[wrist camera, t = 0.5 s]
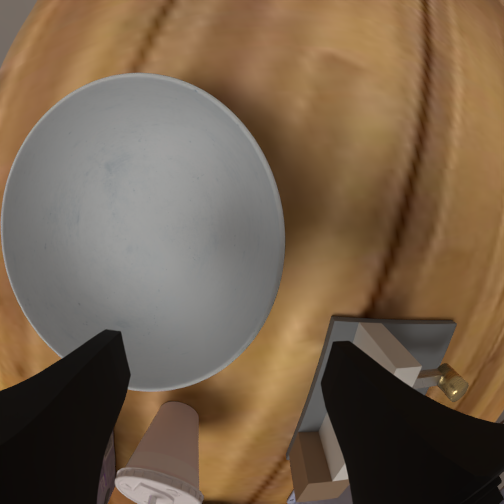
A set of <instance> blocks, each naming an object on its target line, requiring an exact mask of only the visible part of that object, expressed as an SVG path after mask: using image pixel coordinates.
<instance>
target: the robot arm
mask: <svg viewBox="0 0 504 504" xmlns="http://www.w3.org/2000/svg"><path fill="white" fill-rule="evenodd" d="M130 377H131V373H130V369H129V365H128V361H127V356H126V352H125V348H124V343H123V338H122V333H121V331H115V330H109V329H105V330H103V331H102V332H100V333H98V334H97V335H95V336H94V337H93V338H91V339H90V340H88V341H87V342H85V343H84V344H82V345H81V346H80V347H78V348H77V349H75V350H74V351H72V352H71V353H69V354H68V355H67V356H65V357H64V358H62V359H61V360H59V361H57V362H56V363H54V364H53V365H51V366H49V367H48V368H46V369H45V370H43V371H41V372H40V373H38V374H36V375H34V376H33V377H31V378H29V379H27V380H25V381H23V382H21V383H19V384H17V385H14V386H12V387H9V388H7V389H4V390H2V391H0V504H97V495H98V488H99V480H100V474H101V469H102V464H103V459H104V454H105V451H106V448H107V445H108V442H109V439H110V436H111V434H112V431H113V428H114V426H115V423H116V421H117V418H118V416H119V413H120V410H121V408H122V405H123V403H124V400H125V397H126V393H127V389H128V385H129V381H130ZM320 384H321V389H322V394H323V399H324V403H325V407H326V410H327V413H328V416H329V419H330V421H331V424H332V427H333V430H334V432H335V435H336V438H337V441H338V443H339V446H340V449H341V452H342V454H343V458H344V461H345V465H346V469H347V474H348V479H349V485H348V487H347V488H346V489H345V490H344V491H343V493H342V494H341V495H340V496H339V497H338V498H333V499H326V500H317V501H307V502H296V500H295V493H294V490H293V492H292V493H291V495H290V496H289V498H288V500H287V503H288V504H504V486H503V487H502V488H501V489H500V490H499V489H498V487H497V486H498V485H499V484H500V483H501V478H500V477H499V475H500V474H501V473H502V472H504V424H499V423H494V422H489V421H485V420H482V419H478V418H475V417H472V416H469V415H466V414H463V413H461V412H458V411H456V410H453V409H451V408H448V407H446V406H444V405H442V404H440V403H438V402H436V401H434V400H432V399H431V398H429V397H427V396H425V395H423V394H422V393H420V392H418V391H417V390H415V389H414V388H412V387H411V386H409V385H408V384H406V383H405V382H403V381H402V380H400V379H399V378H397V377H396V376H395V375H393V374H392V373H391V372H389V371H388V370H387V369H385V368H384V367H383V366H381V365H380V364H379V363H378V362H376V361H375V360H374V359H372V358H371V357H370V356H369V355H367V354H366V353H365V352H364V351H362V350H361V349H360V348H358V347H357V346H356V345H354V344H353V343H352V342H350V341H333V343H332V347H331V350H330V354H329V357H328V360H327V364H326V367H325V370H324V373H323V377H322V380H321V383H320Z"/></svg>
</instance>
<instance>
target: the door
mask: <svg viewBox="0 0 504 504" xmlns="http://www.w3.org/2000/svg"><path fill="white" fill-rule="evenodd" d="M456 324H457V323H455V322H454V321H452V320H392V319H368V318H350V317H334V316H331V320H330V324H329V327H328V331H327V335H326V339H325V342H324V346H323V349H322V353H321V356H320V359H319V363H318V366H317V369H316V372H315V376H314V379H313V382H312V385H311V388H310V391H309V394H308V397H307V400H306V403H305V406H304V408H303V411H302V414H301V417H300V419H299V422H298V425H297V427H296V430H295V433H294V435H293V438H292V440H291V443H290V445H289V448H288V450H287V453H286V459H287V460H290V467H291V473H292V480H293V487H294V493H295V500H296V502H307V501H317V500H326V499H333V498H338V497H339V496H340V495H341V494H342V493H343V491H344V490H345V489H346V488H347V487H348V485H349V479H348V474H347V469H346V465H345V461H344V458H343V454H342V452H341V449H340V446H339V443H338V441H337V438H336V435H335V432H334V430H333V427H332V424H331V421H330V419H329V416H328V413H327V410H326V407H325V403H324V399H323V394H322V389H321V384H320V383H321V380H322V377H323V373H324V370H325V367H326V364H327V360H328V357H329V354H330V350H331V347H332V343H333V341H350V342H352V343H353V344H354V345H356V346H357V347H358V348H360V349H361V350H362V351H364V352H365V353H366V354H367V355H369V356H370V357H371V358H372V359H374V360H375V361H376V362H378V363H379V364H380V365H381V366H383V367H384V368H385V369H387V370H388V371H389V372H391V373H392V374H393V375H395V376H396V377H397V378H399V379H400V380H402V381H403V382H405V383H406V384H408V385H409V386H411V387H413V385H414V383H415V381H416V379H417V376H418V374H419V372H420V370H428V369H436V368H438V367H439V366H440V364H441V361H442V359H443V357H444V355H445V352H446V350H447V348H448V345H449V343H450V340H451V338H452V335H453V333H454V330H455V327H456ZM428 388H429V387H425V388H418V389H415V390H417V391H418V392H420V393H422V394H423V395H425V394H426V392H427V390H428Z"/></svg>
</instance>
